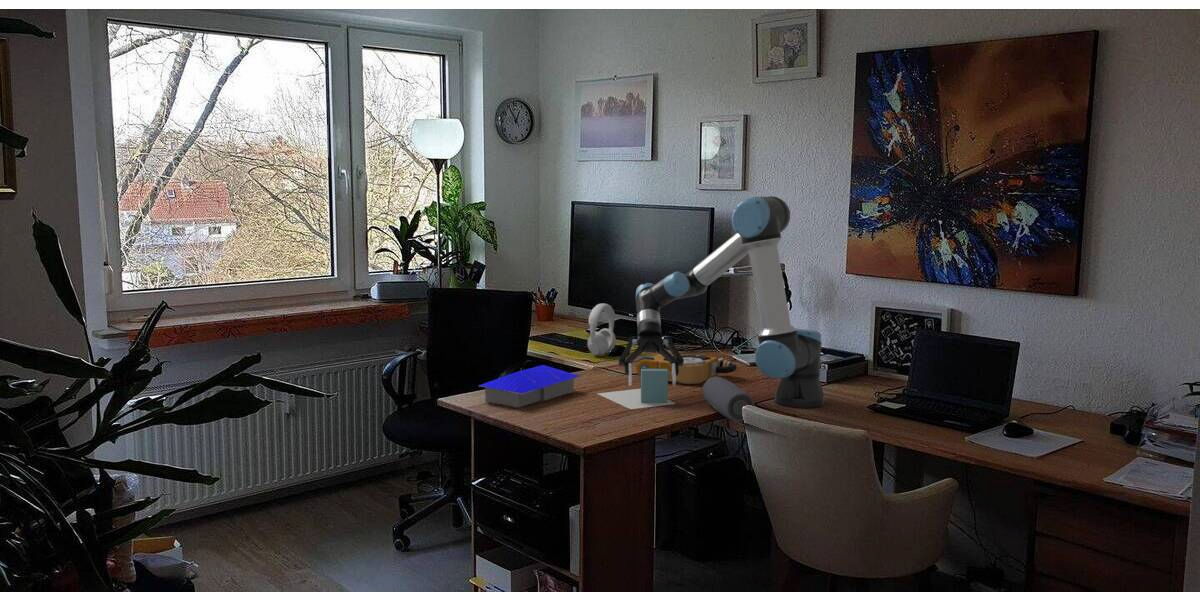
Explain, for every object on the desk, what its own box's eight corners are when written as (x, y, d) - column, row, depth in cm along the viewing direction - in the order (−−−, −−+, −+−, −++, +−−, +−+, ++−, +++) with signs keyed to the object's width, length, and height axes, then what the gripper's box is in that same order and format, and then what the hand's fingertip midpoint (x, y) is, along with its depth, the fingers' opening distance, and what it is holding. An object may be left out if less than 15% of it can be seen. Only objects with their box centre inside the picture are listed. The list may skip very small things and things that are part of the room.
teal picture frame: (666, 400, 303) (666, 368, 301) (667, 402, 300) (668, 370, 298) (640, 400, 302) (641, 368, 301) (641, 402, 299) (641, 370, 298)
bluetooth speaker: (756, 425, 277) (757, 391, 276) (725, 427, 275) (726, 392, 274) (729, 406, 299) (730, 374, 298) (700, 407, 297) (700, 375, 296)
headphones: (602, 350, 386) (602, 299, 384) (620, 351, 383) (620, 301, 380) (582, 358, 370) (582, 305, 367) (601, 360, 367) (601, 307, 364)
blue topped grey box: (522, 411, 292) (522, 380, 290) (478, 402, 301) (478, 372, 300) (580, 392, 316) (580, 363, 315) (538, 385, 326) (538, 357, 324)
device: (662, 346, 353) (740, 354, 338) (662, 368, 354) (740, 377, 339) (633, 356, 333) (714, 365, 318) (633, 380, 334) (714, 390, 320)
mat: (676, 405, 299) (676, 403, 299) (630, 411, 292) (630, 409, 291) (640, 390, 318) (640, 388, 318) (596, 395, 311) (596, 393, 311)
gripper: (686, 333, 316) (691, 389, 304) (609, 333, 315) (611, 389, 303) (689, 320, 310) (694, 376, 298) (610, 319, 309) (612, 376, 297)
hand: (652, 383), depth 300 cm, fingers open, 13 cm apart
